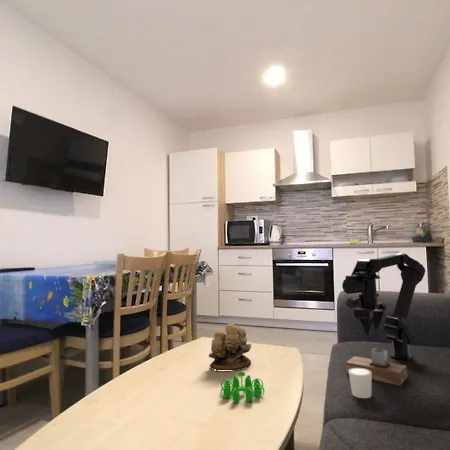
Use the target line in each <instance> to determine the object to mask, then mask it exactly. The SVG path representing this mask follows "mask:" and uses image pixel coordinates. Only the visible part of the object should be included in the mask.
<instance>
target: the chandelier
mask: <svg viewBox="0 0 450 450" xmlns="http://www.w3.org/2000/svg"><path fill="white" fill-rule="evenodd" d="M237 375H238V376H237ZM237 375H233V377H232V381H231V380H230V379H224V380H223V381H222V382H221V385H220V387H221V389H220V396H221V398H222V399H224V398H226V399H229V398H232V402H233V403H234V404H236V403H237V402H240V400H241V399H240V392H245V401H247V402H249V403H253V399H254V398H253V397H259V398H262V397H263V396H264V395H265V388H264V382H263V380H262V379H260V378H254V379H253V380H252V377H251V376H250V375H249V374H248V375H246V373H245V372H243V371H240V372H238V373H237ZM245 375H246V377H245ZM238 377H240V380H239V378H238ZM243 377H245V378H244V381H243ZM240 381H241V382H240ZM260 381H261V382H260ZM243 382H244V385H243ZM240 383H241V385H240ZM223 384H224V385H223ZM222 391H223V392H222ZM262 391H263V392H262ZM222 393H223V394H222Z"/></svg>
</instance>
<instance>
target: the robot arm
mask: <svg viewBox="0 0 450 450" xmlns="http://www.w3.org/2000/svg"><path fill="white" fill-rule="evenodd" d="M393 266H396V267H397V269H398V270H399V271H400V277H401V281H402V282H401V283H402V284H401V287H400V290H399V293H398V297H397V300H396V304H395V307H394V311H393V314H392V315H390V316H388V315H387V316H386V317H385V321H384V324H383V332H384V334H385V337H386V339H387V340H388V341H391V342H392V352H393V353H392V354H391V355H390V358H391V359H392V358H393V359H399V360H405V361H409V360H410V359H411V358H412V357H413V354H411V353H410V348H409V345H412V344H413V343H414V340H415V337H414V335H413V334H411V332H410V331H409V328H410V326H409V322H408V320H407V318H408V315H409V311H410V308H411V305H412V302H413V301H412V300H413V297H414V294H415V290H416V287H417V286H418V284H419V283H420V282H422V280H423V279H424V276H425V274H426V268H425V267H424V265H423V264H422V263H420V262H419V261H418V260H416V259H414V258H412V257H410V256H409V255H408V254H407V253H403V252H402V253H400V252H399V253H395V254H391V255H386V256H381V257H378V258H359V259H357V261H356V264H355V265H354V268H353V270H352V272H351V274H350V275H345V279H343V281H342V284H341V286H342V287H341V288H342V290H343V292H344V293H345V294H347V295H349V294H350V295H351V294H358V297H356V298H352V297H350V298H347V299H346V301H345V307H348V309H349V310H352V309H354V310H352V316H353V317H354V318H355V319H357V320H358V321H359V322H360V323H361V326H362V329H363V331H364V334H365V335H367V336H369V335H370V333H371V330H372V325H373V328H374V330H379V326H380V324H381V322H382V319H383V317H384V315H385V313H386V310H387V304H386V303H385V302H383V301H378V297H379V295H380V294H379V293H378V291H377V280H379V279H381V277H380V275H378V274H377V273H378V272H380V271H381V270H382V269H384V268H389V267H393Z"/></svg>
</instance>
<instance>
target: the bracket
mask: <svg viewBox="0 0 450 450" xmlns="http://www.w3.org/2000/svg"><path fill="white" fill-rule="evenodd" d="M370 357H371V358H370V359H371V360H372V366H376V367H381V368H386V369H387V368H388V362H389V358H388V357H389V356H388V350H387V349H382V348H375V347H373V348H372V349H371V350H370Z"/></svg>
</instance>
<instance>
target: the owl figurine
mask: <svg viewBox="0 0 450 450" xmlns="http://www.w3.org/2000/svg"><path fill="white" fill-rule="evenodd" d="M225 332H226V333H225ZM225 332H223V331H221V330H218V331H216V332H215V333H214V337H213V339H211V345H210V347H211V348H210V349H211V350H210V351H211V352H210V353H209V354H208V357H209V358H211V359H214V360H213V361H211V363H210V364H209V368H210V367H211V368H213V369H216V370H235V371H237V370H236V369H240V370H243V369H242V368H244V369H246V368H248V367H249V366H251V364H252V360H251V359H249V358H248V357H247V356H246V355H244V354H246V353H248V352H250V351H251V349H252V343H247V342H248V337H247V332H246V329H245V327H243V326H236V325H235V324H234V323H228V324H226V326H225ZM245 367H246V368H245Z"/></svg>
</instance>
